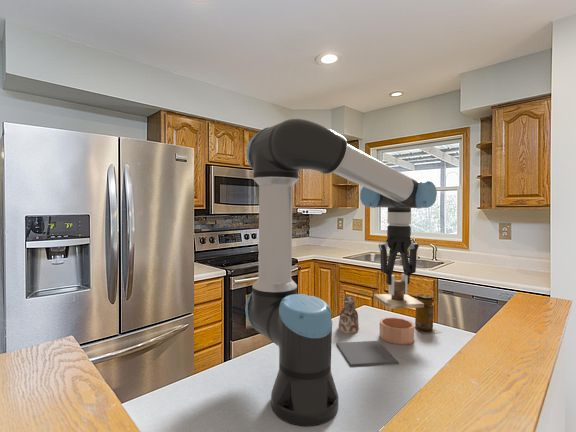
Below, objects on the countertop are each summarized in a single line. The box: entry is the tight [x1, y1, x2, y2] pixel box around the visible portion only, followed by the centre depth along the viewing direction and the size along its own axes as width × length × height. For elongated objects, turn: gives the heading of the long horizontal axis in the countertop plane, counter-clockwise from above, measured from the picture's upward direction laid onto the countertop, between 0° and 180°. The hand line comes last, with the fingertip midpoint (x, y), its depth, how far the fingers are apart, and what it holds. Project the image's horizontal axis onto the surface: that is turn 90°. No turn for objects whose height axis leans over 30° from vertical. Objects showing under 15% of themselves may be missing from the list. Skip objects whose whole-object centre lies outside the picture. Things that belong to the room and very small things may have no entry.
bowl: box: [379, 316, 415, 346], centre depth 110 cm, size 11×11×5 cm
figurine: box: [338, 294, 359, 334], centre depth 117 cm, size 7×7×12 cm
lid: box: [373, 279, 424, 310], centre depth 109 cm, size 12×12×7 cm
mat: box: [336, 340, 399, 367], centre depth 98 cm, size 14×14×1 cm
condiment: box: [414, 294, 442, 335], centre depth 117 cm, size 7×8×12 cm
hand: (397, 293), depth 109 cm, fingers closed on lid, 4 cm apart
